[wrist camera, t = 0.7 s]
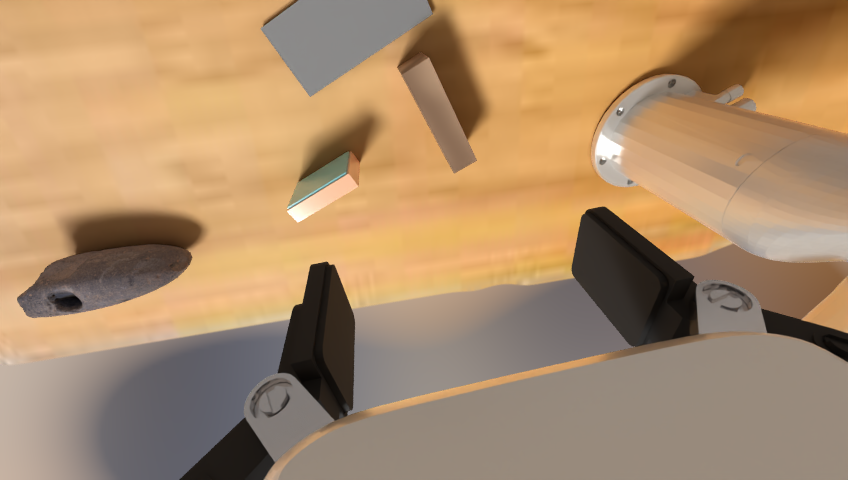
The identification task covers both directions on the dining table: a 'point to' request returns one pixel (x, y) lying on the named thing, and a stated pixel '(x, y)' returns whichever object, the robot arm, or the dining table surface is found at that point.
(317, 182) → the tile
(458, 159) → the brown rectangular pillar
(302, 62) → the mat
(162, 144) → the dining table surface
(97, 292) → the perforated stone tool
